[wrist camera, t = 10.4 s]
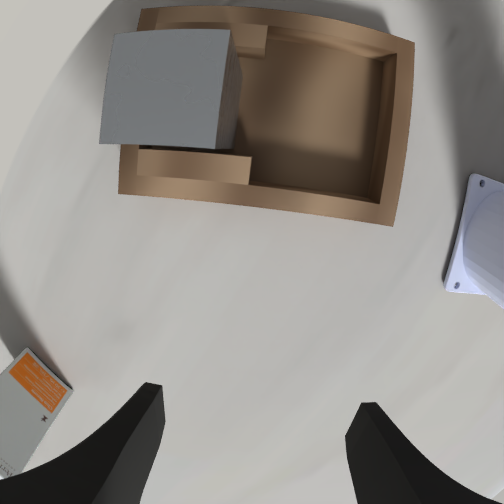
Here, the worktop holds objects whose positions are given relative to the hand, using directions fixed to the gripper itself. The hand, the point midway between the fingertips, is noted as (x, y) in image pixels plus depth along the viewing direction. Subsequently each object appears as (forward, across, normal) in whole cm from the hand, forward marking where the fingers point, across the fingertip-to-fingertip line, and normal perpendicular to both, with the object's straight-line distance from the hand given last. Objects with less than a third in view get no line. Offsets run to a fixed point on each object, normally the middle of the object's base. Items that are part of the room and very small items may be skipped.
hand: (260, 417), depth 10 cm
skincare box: (+10, +19, +12) cm, 24 cm away
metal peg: (+9, +4, -11) cm, 15 cm away
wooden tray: (+9, +1, -11) cm, 15 cm away
